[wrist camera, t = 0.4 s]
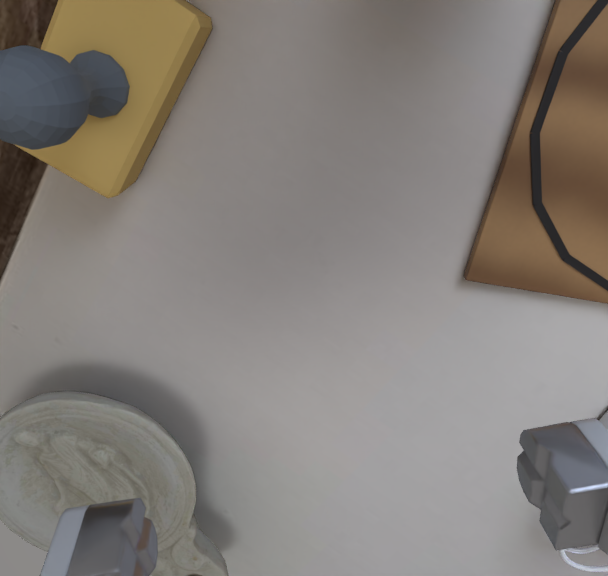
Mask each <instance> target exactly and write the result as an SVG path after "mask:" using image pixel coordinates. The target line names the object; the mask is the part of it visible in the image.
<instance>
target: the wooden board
mask: <svg viewBox="0 0 608 576" xmlns="http://www.w3.org/2000/svg"><path fill="white" fill-rule="evenodd" d="M464 278H465V280H468V281H474V282H480V283H486V284H492V285H498V286H505V287H511V288H517V289H523V290H529V291H535V292H541V293H547V294H553V295H559V296H565V297H571V298H577V299H583V300H589V301H595V302H602V303H608V0H556V1H555V4H554V7H553V10H552V13H551V16H550V19H549V22H548V25H547V28H546V31H545V34H544V37H543V40H542V43H541V46H540V49H539V52H538V55H537V58H536V61H535V64H534V67H533V70H532V73H531V76H530V79H529V82H528V85H527V88H526V91H525V94H524V97H523V100H522V103H521V106H520V109H519V112H518V115H517V118H516V121H515V124H514V127H513V130H512V133H511V136H510V139H509V142H508V145H507V148H506V151H505V154H504V157H503V160H502V163H501V166H500V169H499V171H498V174H497V177H496V180H495V183H494V186H493V189H492V192H491V195H490V198H489V201H488V204H487V207H486V210H485V213H484V216H483V219H482V222H481V225H480V228H479V231H478V234H477V237H476V240H475V243H474V246H473V249H472V252H471V255H470V258H469V261H468V264H467V267H466V270H465V273H464Z"/></svg>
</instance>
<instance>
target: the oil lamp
mask: <svg viewBox="0 0 608 576" xmlns="http://www.w3.org/2000/svg"><path fill="white" fill-rule="evenodd" d="M133 498H141V499H142V501H143V503H144V505H145V507H146V509H145V515H144V517H146V518H148V519H150V520H152V522H153V524H154V527H155V530H156V534H157V541H158V556H157V563H156V568H155V569H154V571H153V572H152V573H151V574H150V575H151V576H228V571H227V566H226V563H225V559H224V558H223V556H222V555H221V553H220V552H219V550H218V549H217V548H216V546H215V545H214V544H213V543H212V542H211V541H210V540H209V539H208V538H207V536H206V535H205V534H204V533H203V532H202V531H201V530H200V529H199V527H198V526H197V521H196V518H195V516H194V514H193V511H194V507H195V503H196V485H195V479H194V475H193V471H192V468H191V465H190V463H189V461H188V459H187V457H186V456H185V454H184V452H183V451H182V449H181V448H180V446H179V445H178V443H177V442H176V440H175V439H174V438H173V437H172V436H171V435H170V434H169V433H168V432H167V431H166V430H165V429H164V428H163V427H162V426H161V425H160V424H159V423H158V422H157V421H155V420H154V419H153V418H151V417H150V416H149V415H147V414H146V413H144V412H143V411H141V410H139V409H138V408H136V407H134V406H132V405H129V404H126V403H123V402H120V401H117V400H113V399H110V398H107V397H104V396H100V395H96V394H90V393H84V392H77V391H58V392H51V393H45V394H41V395H38V396H36V397H33V398H31V399H29V400H27V401H25V402H23V403H21V404H19V405H17V406H15V407H14V408H12V409H11V410H9V411H8V412H7V413H5V414H4V415H3V416H2V417H1V418H0V520H1V521H2V522H3V523H4V524H5V525H6V526H7V527H8V528H9V529H10V530H11V531H12V532H14V533H15V534H17V535H18V536H19V537H21V538H22V539H24V540H25V541H27V542H28V543H30V544H32V545H34V546H36V547H38V548H40V549H42V550H44V551H47V552H48V550H49V547H50V545H51V542H52V539H53V536H54V533H55V530H56V527H57V524H58V521H59V518H60V516H61V515H62V513H63V512H64V511H65V509H67V508H73V507H79V506H86V505H91V504H98V503H105V502H112V501H119V500H126V499H133Z"/></svg>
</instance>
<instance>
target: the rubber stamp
mask: <svg viewBox="0 0 608 576" xmlns="http://www.w3.org/2000/svg"><path fill="white" fill-rule="evenodd" d="M211 30H212V22H211V18H210V17H209V16H207V15H206V14H204V13H203V12H201V11H200V10H199V9H197V8H196V7H194V6H193V5H191V4H190V3H188V2H187V1H186V0H58V3H57V6H56V8H55V11H54V14H53V17H52V19H51V22H50V25H49V27H48V30H47V33H46V35H45V38H44V41H43V43H42V46H41V49H38V48H35V47H31V46H27V45H26V46H17V47H13V48H9V49H5V50H2V51H0V139H1V140H2V141H5V142H8V143H12V144H14V145H16V146H17V147H19V148H21V149H23V150H24V151H26V152H28V153H29V154H31V155H33V156H35V157H36V158H38V159H40V160H42V161H43V162H45V163H47V164H49V165H50V166H52V167H54V168H56V169H57V170H59V171H61V172H63V173H64V174H66V175H68V176H70V177H71V178H73V179H75V180H77V181H78V182H80V183H82V184H84V185H85V186H87V187H89V188H91V189H92V190H94V191H96V192H98V193H99V194H101V195H103V196H105V197H106V198H110V197H114V196H118V195H119V194H120V193H122V192H123V191H124V190H126V189H127V188H128V187H129V186H131V185H132V184H133V183H134V182H136V180H137V178H138V176H139V174H140V172H141V170H142V168H143V166H144V164H145V162H146V160H147V158H148V156H149V154H150V152H151V150H152V148H153V146H154V144H155V142H156V140H157V138H158V136H159V134H160V132H161V130H162V128H163V126H164V124H165V122H166V120H167V118H168V116H169V114H170V112H171V110H172V108H173V106H174V104H175V102H176V100H177V98H178V96H179V94H180V92H181V90H182V88H183V86H184V84H185V82H186V80H187V78H188V76H189V74H190V72H191V70H192V68H193V66H194V64H195V62H196V60H197V58H198V56H199V54H200V52H201V50H202V48H203V46H204V44H205V42H206V40H207V38H208V36H209V34H210V32H211Z"/></svg>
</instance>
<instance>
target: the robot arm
mask: <svg viewBox="0 0 608 576" xmlns="http://www.w3.org/2000/svg"><path fill="white" fill-rule="evenodd" d="M519 443H520V445H521V446H522V448H523V450H524V451H523V452H522V453H521V454H520V455H519V456H518V459H517V472H518V477H519V481H520V484H521V487H522V489H523V492H524V493H525V495H526V497H527V499H528V501H529V502H530V503H532V504H533V505H535V506H536V507H538V508H539V509H541V514H540V520H539V521H540V523H541V525H542V526H543V528H544V530H545V532H546V534H547V535H548V537H549V539H550V541H551V542H552V544H553V546H554V548H555V550H563V549H570V548H577V547H583V546H590V545H597V544H598V547H599V548H600V549H601V550H603V551H604V552H605V553H606V554H608V431H607V430H606V428H605V427H604V426H603V425H602V424H601V422H600V421H598V420H597V419H595V418H591V419H585V420H579V421H573V422H565V423H559V424H554V425H549V426H543V427H538V428H533V429H527V430H523V432H522V433H521V435H520V442H519ZM145 509H146V507H145V505H144V503H143V501H142V499H141V498H133V499H126V500H119V501H112V502H105V503H98V504H91V505H86V506H79V507H73V508H67V509H65V511H64V512H63V513H62V515H61V516H60V518H59V521H58V524H57V527H56V530H55V533H54V536H53V539H52V542H51V545H50V547H49V550H48V553H47V556H46V559H45V562H44V565H43V568H42V571H41V574H40V576H150V574H151V573H152V572H153V571H154V569H155V568H156V563H157V556H158V541H157V534H156V530H155V527H154V524H153V522H152V520H150V519H148V518H146V517H144V515H145Z"/></svg>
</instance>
